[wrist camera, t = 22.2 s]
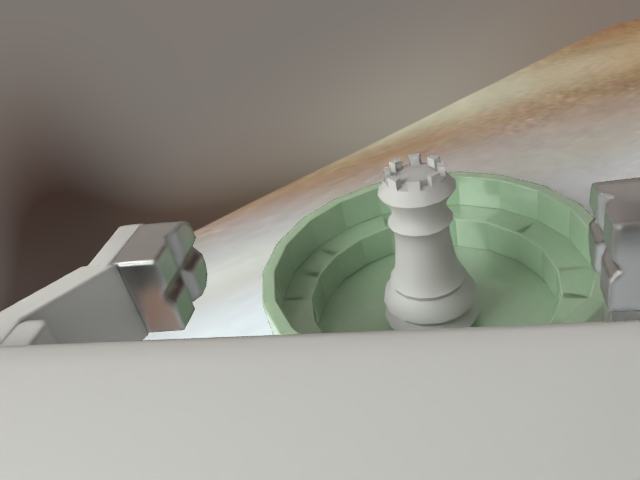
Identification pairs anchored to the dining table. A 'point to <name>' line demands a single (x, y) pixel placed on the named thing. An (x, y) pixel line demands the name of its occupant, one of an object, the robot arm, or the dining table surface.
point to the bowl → (471, 250)
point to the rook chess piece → (424, 250)
